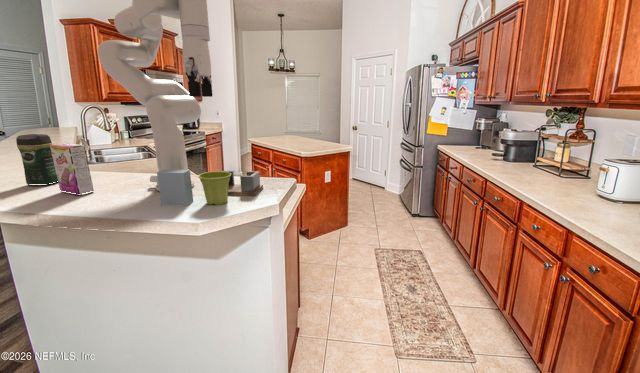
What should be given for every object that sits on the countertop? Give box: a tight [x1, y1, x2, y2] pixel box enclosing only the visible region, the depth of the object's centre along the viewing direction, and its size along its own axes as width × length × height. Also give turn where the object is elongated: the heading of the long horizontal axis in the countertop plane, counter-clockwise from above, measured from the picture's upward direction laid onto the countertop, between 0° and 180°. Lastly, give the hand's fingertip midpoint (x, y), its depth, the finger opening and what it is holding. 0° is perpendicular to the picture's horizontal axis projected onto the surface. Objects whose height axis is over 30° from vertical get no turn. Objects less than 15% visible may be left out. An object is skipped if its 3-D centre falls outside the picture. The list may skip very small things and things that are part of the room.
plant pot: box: [198, 170, 231, 206], centre depth 98 cm, size 9×9×9 cm
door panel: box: [156, 169, 194, 207], centre depth 97 cm, size 8×4×10 cm, turn 85°
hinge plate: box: [228, 183, 264, 197], centre depth 111 cm, size 15×9×1 cm, turn 85°
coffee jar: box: [15, 133, 58, 185], centre depth 119 cm, size 10×8×19 cm
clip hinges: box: [222, 170, 261, 191], centre depth 110 cm, size 13×8×5 cm, turn 85°
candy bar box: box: [50, 142, 95, 194], centre depth 108 cm, size 11×5×16 cm, turn 65°
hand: (201, 96), depth 98 cm, fingers open, 9 cm apart
